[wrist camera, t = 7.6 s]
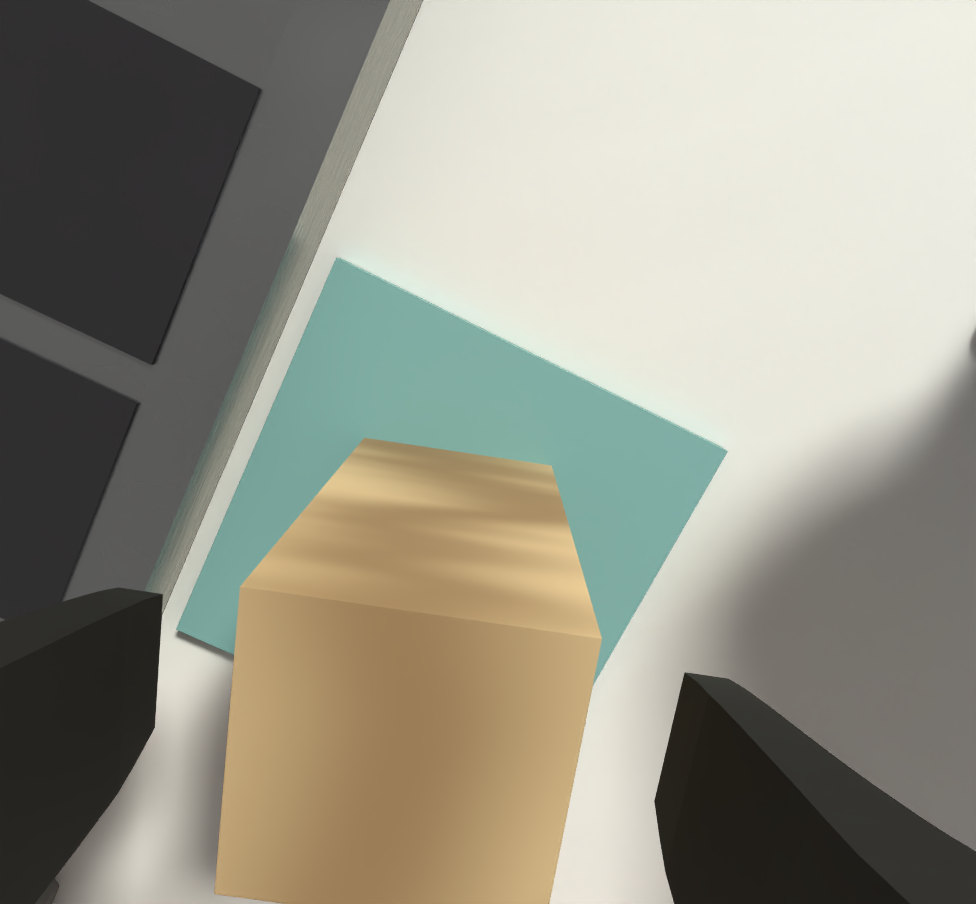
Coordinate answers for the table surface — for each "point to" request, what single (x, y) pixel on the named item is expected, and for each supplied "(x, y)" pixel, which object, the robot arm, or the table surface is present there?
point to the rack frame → (156, 256)
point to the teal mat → (455, 443)
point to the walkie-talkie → (49, 893)
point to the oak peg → (409, 688)
